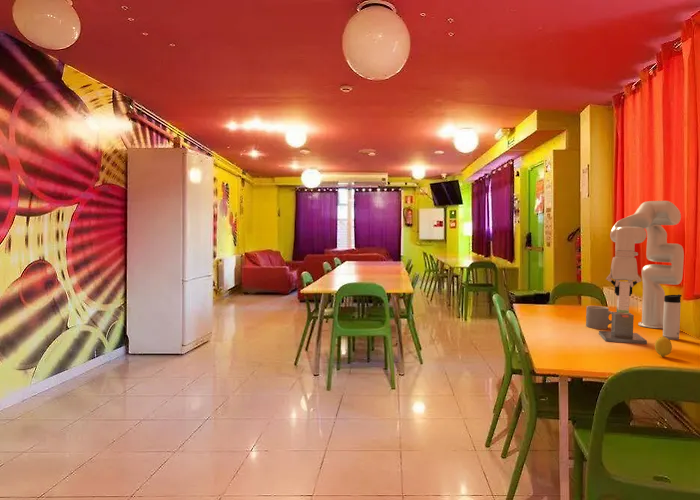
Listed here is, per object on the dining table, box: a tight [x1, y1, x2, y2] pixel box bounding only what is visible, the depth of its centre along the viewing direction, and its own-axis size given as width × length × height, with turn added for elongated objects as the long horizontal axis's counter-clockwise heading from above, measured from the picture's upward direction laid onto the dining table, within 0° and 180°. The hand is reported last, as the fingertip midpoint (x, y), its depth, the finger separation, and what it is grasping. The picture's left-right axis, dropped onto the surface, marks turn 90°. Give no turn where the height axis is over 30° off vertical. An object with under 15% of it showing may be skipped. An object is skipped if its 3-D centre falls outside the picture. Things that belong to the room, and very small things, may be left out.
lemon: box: [654, 335, 673, 358], centre depth 190 cm, size 6×6×8 cm
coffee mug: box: [585, 305, 613, 330], centre depth 247 cm, size 13×10×10 cm
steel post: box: [616, 280, 630, 315], centre depth 221 cm, size 4×4×18 cm
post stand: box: [598, 311, 648, 345], centre depth 221 cm, size 16×16×12 cm
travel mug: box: [662, 294, 682, 341], centre depth 223 cm, size 6×7×20 cm
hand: (623, 295), depth 220 cm, fingers closed on steel post, 4 cm apart
